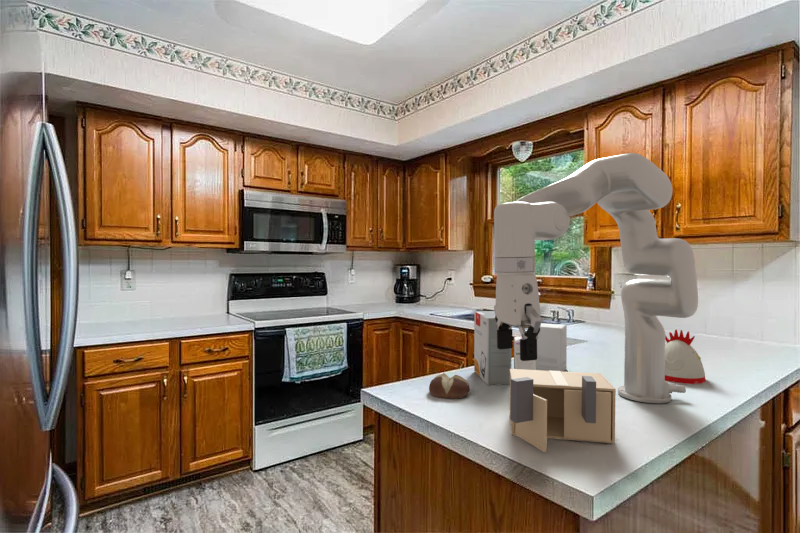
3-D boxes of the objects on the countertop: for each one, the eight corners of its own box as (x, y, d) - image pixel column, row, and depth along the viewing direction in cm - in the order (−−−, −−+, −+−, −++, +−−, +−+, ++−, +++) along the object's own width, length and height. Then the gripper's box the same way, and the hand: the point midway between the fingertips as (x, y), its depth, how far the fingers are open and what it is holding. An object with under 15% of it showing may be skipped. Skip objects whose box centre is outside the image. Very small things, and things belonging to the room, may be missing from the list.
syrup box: (536, 392, 121) (536, 340, 120) (514, 391, 122) (514, 339, 121) (534, 387, 126) (534, 336, 126) (513, 385, 127) (513, 336, 127)
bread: (424, 397, 117) (424, 379, 117) (436, 386, 128) (436, 369, 128) (466, 402, 113) (466, 383, 113) (474, 390, 124) (474, 372, 124)
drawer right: (610, 440, 87) (610, 376, 87) (616, 450, 83) (617, 382, 83) (563, 437, 89) (564, 374, 89) (567, 446, 85) (568, 380, 85)
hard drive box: (473, 371, 143) (473, 310, 143) (496, 371, 144) (496, 310, 143) (486, 385, 127) (487, 317, 127) (512, 385, 128) (512, 317, 128)
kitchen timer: (697, 386, 127) (697, 335, 127) (645, 377, 137) (646, 329, 137) (710, 378, 136) (711, 330, 136) (661, 369, 146) (662, 325, 146)
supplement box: (567, 369, 147) (567, 324, 146) (561, 375, 139) (561, 328, 139) (539, 365, 152) (540, 322, 151) (532, 371, 144) (533, 325, 144)
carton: (600, 421, 99) (600, 373, 99) (614, 443, 88) (615, 388, 87) (509, 415, 103) (509, 368, 103) (511, 435, 92) (512, 382, 91)
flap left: (546, 451, 83) (547, 383, 82) (527, 455, 81) (527, 386, 81) (517, 434, 91) (517, 372, 90) (499, 437, 89) (499, 374, 89)
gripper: (557, 267, 77) (558, 363, 78) (511, 264, 94) (513, 343, 95) (518, 269, 76) (519, 367, 76) (479, 265, 92) (480, 346, 93)
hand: (516, 354), depth 86 cm, fingers open, 9 cm apart
